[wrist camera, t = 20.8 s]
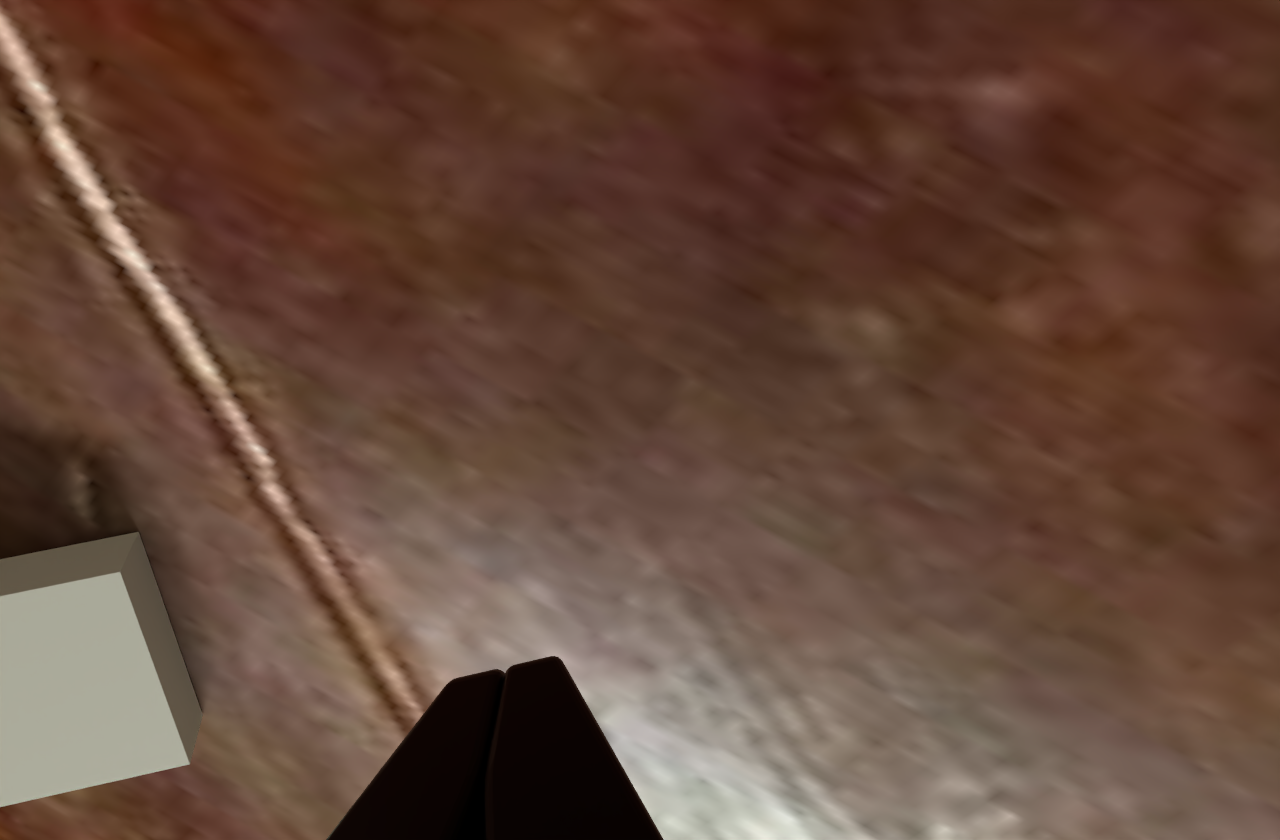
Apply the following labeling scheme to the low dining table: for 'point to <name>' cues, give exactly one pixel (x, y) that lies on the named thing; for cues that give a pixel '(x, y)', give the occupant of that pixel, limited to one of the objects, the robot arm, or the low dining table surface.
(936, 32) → the low dining table surface
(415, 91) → the low dining table surface
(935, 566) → the low dining table surface
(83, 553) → the sage domino
